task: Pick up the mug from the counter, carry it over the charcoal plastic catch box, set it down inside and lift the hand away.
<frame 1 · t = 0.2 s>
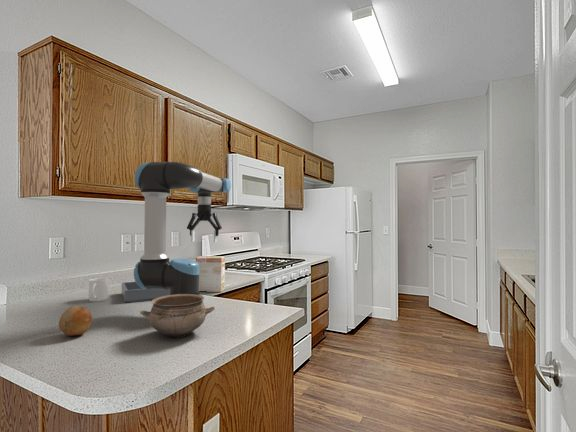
hand: (204, 241, 193), 28 cm above the worktop, tool pointing down, fingers open, 13 cm apart
mug: (96, 301, 168), on the worktop
catch box: (148, 295, 180), on the worktop
coffeecake box: (210, 291, 193), on the worktop
onion: (75, 336, 117), on the worktop
cooking pot: (178, 334, 119), on the worktop
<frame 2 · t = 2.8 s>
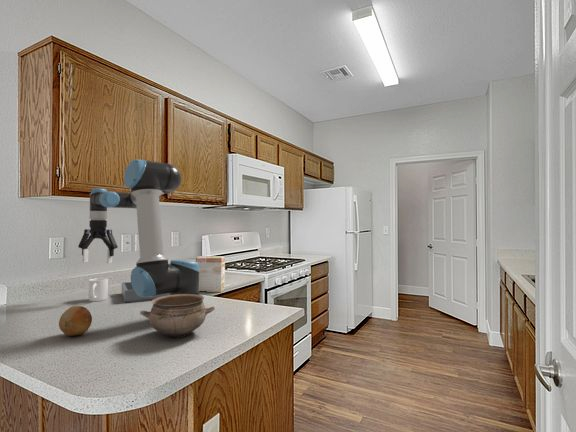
hand: (97, 262, 168), 19 cm above the worktop, tool pointing down, fingers open, 13 cm apart
nothing on the worktop moved.
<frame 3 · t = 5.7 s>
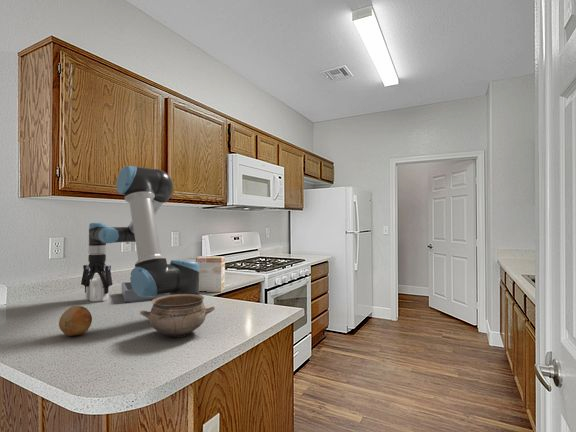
hand: (96, 299, 168), 0 cm above the worktop, tool pointing down, fingers closed on mug, 8 cm apart
mug: (97, 301, 168), on the worktop, touching gripper
everything else where it was.
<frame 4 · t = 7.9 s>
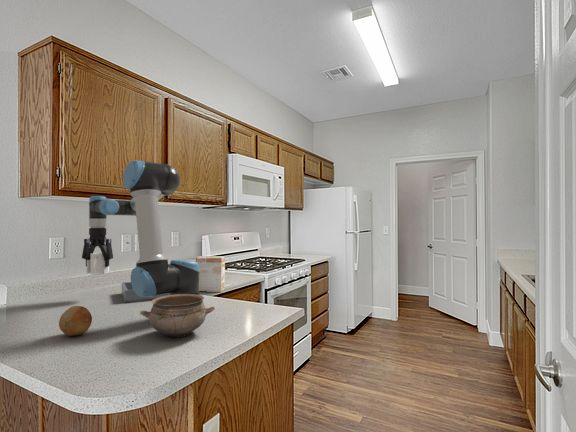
hand: (97, 273, 168), 14 cm above the worktop, tool pointing down, fingers closed on mug, 8 cm apart
mug: (98, 274, 168), point 13 cm above the worktop, touching gripper
everything else where it was.
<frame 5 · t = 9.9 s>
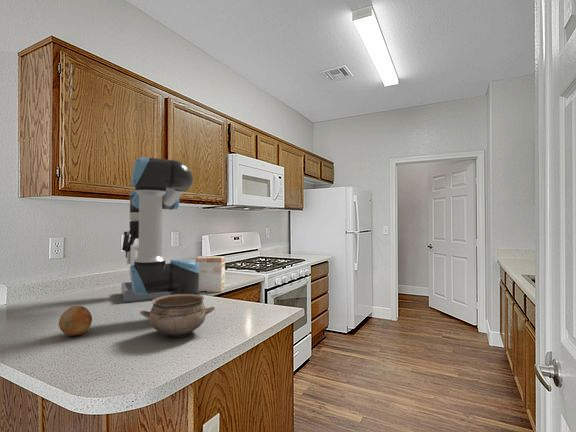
hand: (137, 264, 177), 17 cm above the worktop, tool pointing down, fingers closed on mug, 8 cm apart
mug: (137, 265, 177), point 16 cm above the worktop, touching gripper
everything else where it was.
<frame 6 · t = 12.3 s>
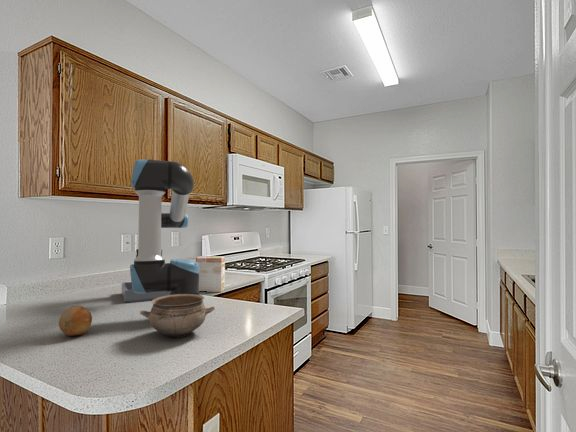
hand: (148, 281, 180), 8 cm above the worktop, tool pointing down, fingers closed on mug, 8 cm apart
mug: (149, 282, 180), point 7 cm above the worktop, touching gripper
everything else where it was.
when the fingers open (3 cm above the worktop, at t = 14.0 s): mug drops 2 cm, resting on catch box.
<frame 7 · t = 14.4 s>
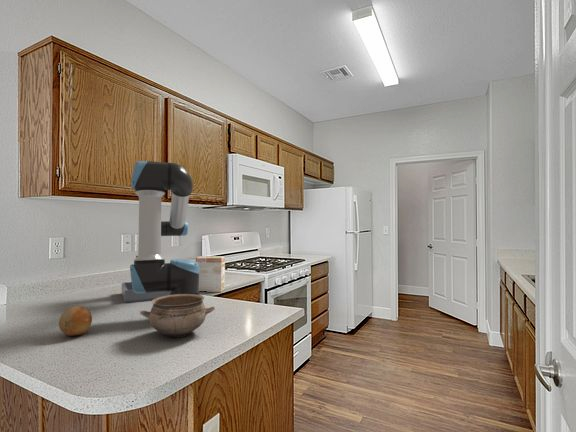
hand: (148, 286, 180), 5 cm above the worktop, tool pointing down, fingers open, 13 cm apart
mug: (149, 294, 180), point 1 cm above the worktop, touching catch box
everything else where it was.
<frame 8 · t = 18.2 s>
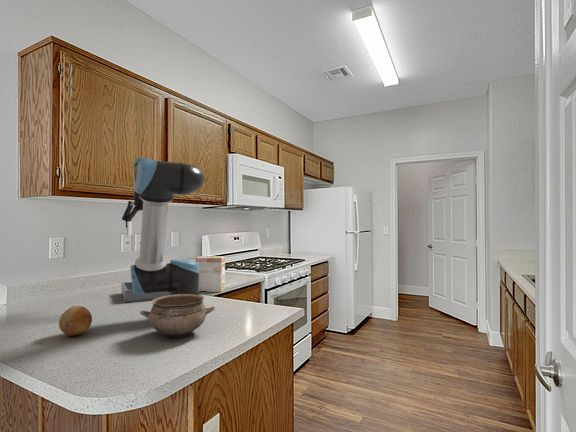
hand: (142, 235, 163), 33 cm above the worktop, tool pointing down, fingers open, 13 cm apart
nothing on the worktop moved.
at the end: mug inside the target area on the catch box (0.3 cm from its centre), point 0.8 cm above the catch box's base; mug tilted 0°; the gripper is holding nothing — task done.
